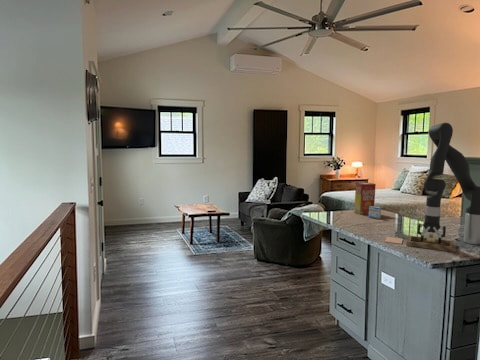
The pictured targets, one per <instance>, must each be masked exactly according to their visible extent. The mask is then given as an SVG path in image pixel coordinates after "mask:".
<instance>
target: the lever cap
mask: <svg viewBox="0 0 480 360" xmlns="http://www.w3.org/2000/svg"><path fill="white" fill-rule="evenodd" d="M426 238H427V242H425V243H430V244H435V239H436V235H435V234H434V233H431V232H428V233H427V234H426Z"/></svg>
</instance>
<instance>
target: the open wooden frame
mask: <svg viewBox="0 0 480 360" xmlns="http://www.w3.org/2000/svg"><path fill="white" fill-rule="evenodd" d="M411 240H412V241H411ZM426 242H427V237H425V236H424V237H423V242H422V241H421V236H417V235H407V237H406V246H407V247H413V246H414V247H415V248H422V249H430V250H437V251H445V252H452V253H455V252H457V245H456V241H455V240H450V239H442V238H441V243H440V244H438V238H435V244H430V243H426ZM414 247H413V248H414Z"/></svg>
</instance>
